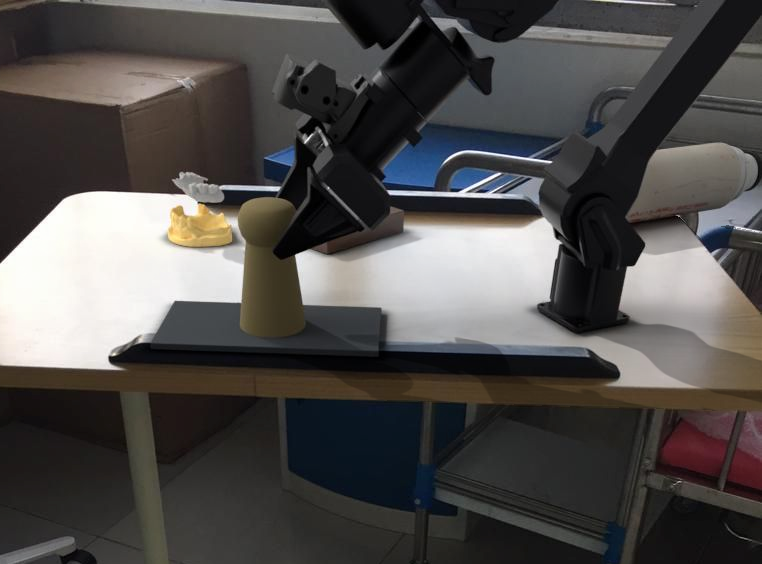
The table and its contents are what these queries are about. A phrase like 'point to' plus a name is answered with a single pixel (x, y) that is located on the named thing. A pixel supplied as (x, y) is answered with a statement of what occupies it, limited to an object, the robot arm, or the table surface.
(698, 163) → the thermos bottle
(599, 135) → the robot arm
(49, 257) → the table surface
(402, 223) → the square wooden frame
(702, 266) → the table surface
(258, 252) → the cork
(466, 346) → the table surface
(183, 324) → the slate mat
